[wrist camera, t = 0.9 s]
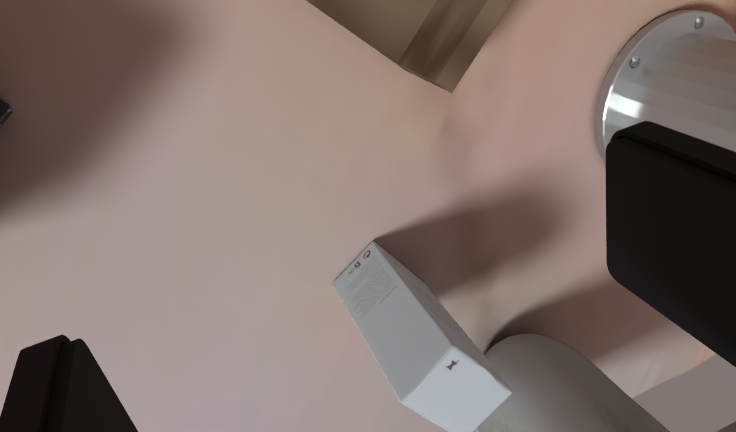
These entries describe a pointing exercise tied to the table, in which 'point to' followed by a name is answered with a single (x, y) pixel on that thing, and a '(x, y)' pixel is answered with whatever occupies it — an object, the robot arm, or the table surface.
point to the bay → (421, 32)
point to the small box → (4, 112)
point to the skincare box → (419, 343)
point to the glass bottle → (559, 391)
